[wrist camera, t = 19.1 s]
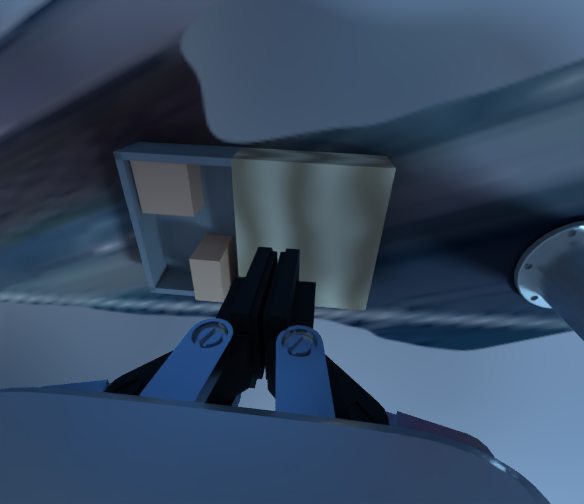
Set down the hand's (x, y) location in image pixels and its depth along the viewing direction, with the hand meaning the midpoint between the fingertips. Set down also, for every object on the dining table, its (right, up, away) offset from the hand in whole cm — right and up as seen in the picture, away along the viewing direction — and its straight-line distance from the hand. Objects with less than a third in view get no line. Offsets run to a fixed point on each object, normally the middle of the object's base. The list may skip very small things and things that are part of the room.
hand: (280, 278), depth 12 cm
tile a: (-8, -1, +26) cm, 27 cm away
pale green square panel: (+2, +5, +26) cm, 26 cm away
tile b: (-13, +8, +20) cm, 26 cm away
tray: (-11, +6, +27) cm, 29 cm away
